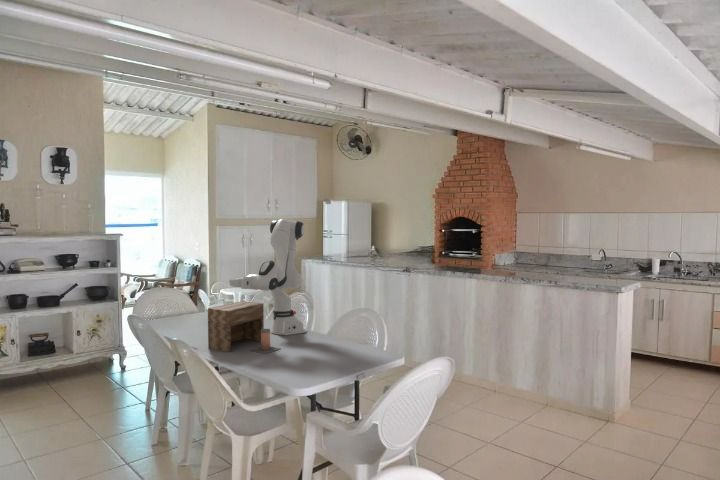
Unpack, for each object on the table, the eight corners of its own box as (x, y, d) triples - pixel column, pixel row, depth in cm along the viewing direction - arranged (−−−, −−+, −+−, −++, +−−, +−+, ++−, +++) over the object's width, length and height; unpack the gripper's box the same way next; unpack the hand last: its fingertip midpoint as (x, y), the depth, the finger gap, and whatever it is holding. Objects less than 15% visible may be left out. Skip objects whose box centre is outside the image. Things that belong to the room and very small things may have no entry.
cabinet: (263, 341, 305) (263, 303, 303) (228, 352, 281) (228, 311, 280) (243, 337, 313) (243, 300, 312) (208, 348, 289) (207, 308, 288)
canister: (269, 347, 289) (268, 328, 288) (271, 350, 284) (271, 330, 284) (259, 348, 287) (259, 329, 286) (262, 351, 282) (261, 331, 281)
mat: (281, 348, 288) (281, 348, 288) (266, 354, 277) (266, 353, 277) (264, 345, 294) (264, 345, 294) (250, 350, 284) (250, 350, 284)
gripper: (265, 274, 307) (248, 272, 314) (240, 278, 289) (223, 276, 296) (265, 284, 307) (248, 283, 314) (240, 289, 290) (223, 287, 297)
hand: (235, 280), depth 305 cm, fingers open, 8 cm apart
